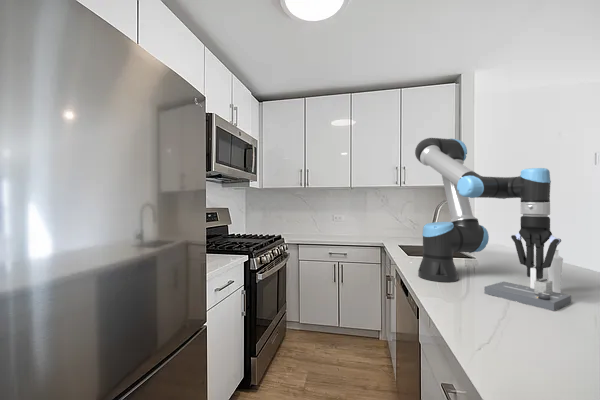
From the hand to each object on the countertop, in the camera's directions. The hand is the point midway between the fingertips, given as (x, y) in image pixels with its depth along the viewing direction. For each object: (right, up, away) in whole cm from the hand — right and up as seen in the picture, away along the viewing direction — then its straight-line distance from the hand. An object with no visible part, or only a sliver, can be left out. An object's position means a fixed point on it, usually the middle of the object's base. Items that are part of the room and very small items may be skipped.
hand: (534, 287), depth 94 cm
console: (-1, -4, +2) cm, 5 cm away
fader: (+1, -1, -2) cm, 3 cm away
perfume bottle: (+16, -5, +10) cm, 19 cm away
